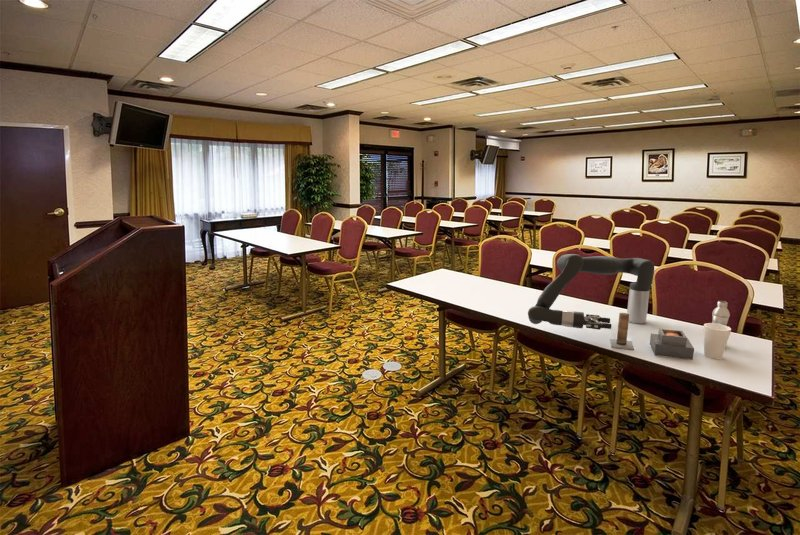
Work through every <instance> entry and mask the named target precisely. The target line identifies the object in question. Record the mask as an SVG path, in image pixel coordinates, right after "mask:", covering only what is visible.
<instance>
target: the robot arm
mask: <svg viewBox="0 0 800 535" xmlns="http://www.w3.org/2000/svg"><path fill="white" fill-rule="evenodd" d="M556 265H557V268H558V269H559V271H560V273H559V275H558V276H557V277H555V278H554V280H552V281H551V282H550V283H549V284H548V285H547V286H546V287H544V289H543V291H542V292H541V293H540V295H539V296H538V298H537V301H536V304H535V305H534V306H531V307H530V308H529V309H528V311H527V315H528V316H527V318H528V320H529V322H530V323H531V324H533V325H538V324H539V325H540V324H541V323H542V322H546V323H548V324H550V325H554V326H562V327H566V328H576V329H583V328H584V326H585V328H586V329H592V330H598V331H599V330H601V329H608V330H611V329H612V326H613V325H612V323H611V318H610V317H602V316H600V315H598V314H587V313H586V314H585V313H584V311H583V312H582V311H573V310H559V309H551V307H552V306H553V304H554V303H555V302H556V300H557V299H558V297H559V295H560V294H561V292H563V291H564V289H565V288H566V286H568V284H569V283H570V282H571V281H572V280H573V279H574V278H575V277H576V276H577V275H578V274H579V272H582V273H590V274H593V275H594V274H596V275H605V276H606V275H607V276H609V275H611V276H612V275H616V274H619V273H622V274H628V275H629V274H630V275H633V276H637V278H636V281H633V282H631V283H630V284H629V292H628V300H627V301H628V302H627V310H626V313H628V314H629V323H633V324H641V325H642V324H646V323H647V316H648V308H649V300H650V299H649V298H650V290H651V287H652V284H653V280H654V275H655V264H654V262H653V261H652V260H650V259H646V258H641V257H631V258H630V257H629V258H620V257H615V256H607V255H600V256H599V255H598V256H597V255H596V256H595V255H594V256H585V257H584V256H581V255H580V254H575V253H568V254H567V253H565V254H562V255H561V256H560V257H559V258H558V259H557V261H556Z"/></svg>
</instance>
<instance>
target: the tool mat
mask: <svg viewBox="0 0 800 535" xmlns="http://www.w3.org/2000/svg"><path fill="white" fill-rule="evenodd" d="M609 342H610V346H611V348H613V349H621V350H628V351H630V350H632V351H634V350H635V346H634V345H633V341H632V340H627V342H626V345H619V344H617V338H609Z"/></svg>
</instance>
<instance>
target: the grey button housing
mask: <svg viewBox="0 0 800 535" xmlns="http://www.w3.org/2000/svg"><path fill="white" fill-rule="evenodd" d="M666 333H676V334H678V335H679V336H673V335H666ZM649 337H650V339H649V345H651V346H650V348H651V351H652V353H653V355H654V356H657V355H658V356H659V357H665V356H666V357H667V358H675V359H681V360H692V361H693V360H694V353H695V348H694V346H693V345H692V343H691V342H690V340H689V338H688V337H687V335H686V334H685V332H684V331H683V330H678V329H677V330H676V329H670V328H669V329H668V328H667V329H666V328H658V333H653V332H651V333H650V336H649Z"/></svg>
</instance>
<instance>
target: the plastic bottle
mask: <svg viewBox="0 0 800 535" xmlns="http://www.w3.org/2000/svg"><path fill="white" fill-rule="evenodd" d="M716 305H717V306H716V307H714V309H713V311H712V313H711V314H712V321H711V323H715V324H721V325H725V326H727V325H728V322H729V320H730V319H729V318H730V316H731V313H730V311H729V309H728V302H727V301H724V300H718V301H717V304H716Z"/></svg>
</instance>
